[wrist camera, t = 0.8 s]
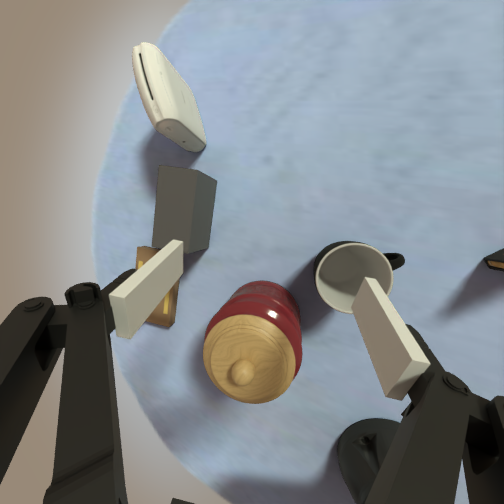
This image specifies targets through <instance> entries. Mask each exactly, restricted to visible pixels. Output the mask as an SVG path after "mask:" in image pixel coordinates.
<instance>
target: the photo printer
mask: <svg viewBox="0 0 504 504" xmlns="http://www.w3.org/2000/svg"><path fill="white" fill-rule="evenodd" d="M132 63H133V70H134V75H135V80H136V83H137V88H138V90H139V94H140V97H141V100H142V103H143V105H144V108H145V110H146V113H147V115H148V117H149V119H150V121H151V123H152V125H153V126H154V128H155V129H156V130H157V131H158V132H160V133H161V134H163V135H164V136H166V137H167V138H169V139H170V140H172V141H173V142H175V143H176V144H178V145H179V146H181V147H182V148H184V149H185V150H187V151H192V152H199V151H201V150H202V149H203V148H204V147H205V145H206V136H205V132H204V128H203V124H202V121H201V117H200V114H199V110H198V107H197V104H196V101H195V98H194V95H193V93H192V91H191V89H190V88H189V86H188V85H187V84H186V82H185V81H184V80H183V79H182V77H181V76H180V75H179V73H178V72H177V71H176V70H175V68H174V67H173V66H172V65H171V63H170V62H169V61H168V59H167V58H166V57H165V56H164V54H163V53H162V52H161V51H160V49H159V48H158V47H156V46H155V45H153V44H150V43H145V42H144V43H143V42H142V43H141V44H140V45H138V46H135V47H134V48H133V52H132Z"/></svg>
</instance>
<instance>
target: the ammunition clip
mask: <svg viewBox="0 0 504 504" xmlns="http://www.w3.org/2000/svg"><path fill="white" fill-rule="evenodd" d="M484 260H485V262H486V263H487V265H488V267H489V268H490V269H495V270H500V271H504V248H503V249H501V250H499V251H497V252H495V253H493V254H491V255H488V256H486V257H484Z"/></svg>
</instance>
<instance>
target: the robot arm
mask: <svg viewBox="0 0 504 504" xmlns="http://www.w3.org/2000/svg"><path fill="white" fill-rule="evenodd" d="M182 274H183V241H179V240H172V241H171V242H170V243H168V244H167V245H166V246H165V247H164V248H163V249H161V250H160V251H159V252H158V253H157V254H156V255H154V256H153V257H152V258H151V259H150V260H149V261H147V262H146V263H145V264H144V265H143V266H142V267H140V268H139V269H138V270H137V269H130V270H128V271H126V272H124V273H122V274H121V275H120V276H119V277H118V278H116V279H115V280H114V281H113V282H111V283H110V284H109V285H107V286H106V287H105V288H104V289H102V290H100V287H99V285H98V284H96V283H91V282H87V283H80V284H76V285H74V286H72V287H70V288H69V289H68V290H67V291H66V292H65V297H66V301H67V304H68V305H54V304H53V301H52V300H51V298H48V297H36V298H32V299H28V300H25V301H24V302H22V303H20V304H18V305H17V306H16V307H15V308H14V309H13V310H12V311H11V313H10V314H9V315H8V316H7V318H6V319H5V320H4V322H3V323H2V324H1V325H0V484H1V482H2V480H3V477H4V475H5V473H6V471H7V469H8V467H9V465H10V462H11V460H12V458H13V456H14V454H15V451H16V449H17V447H18V445H19V443H20V441H21V438H22V436H23V434H24V432H25V430H26V428H27V425H28V423H29V421H30V419H31V416H32V415H33V412H34V410H35V408H36V406H37V404H38V402H39V399H40V397H41V395H42V393H43V390H44V388H45V386H46V384H47V382H48V379H49V377H50V375H51V373H52V371H53V369H54V367H55V364H56V362H57V360H58V358H59V356H60V354H61V351H62V349H63V348H65V353H64V364H63V374H62V385H61V395H60V396H61V397H60V406H59V416H58V427H57V438H56V448H55V460H54V469H53V478H52V482H51V485H50V486H49V488H48V489H47V490H46V493H45V496H44V499H43V504H128V501H127V494H126V487H125V479H124V468H123V458H122V449H121V439H120V428H119V418H118V408H117V398H116V388H115V378H114V368H113V358H112V348H111V338H110V333H111V332H112V331H113V330H114V329H115V330H116V335H117V336H118V337H122V338H127V339H131V338H132V337H133V336H134V334H135V333H136V332H137V331H138V329H139V328H140V327H141V326H142V324H143V323H144V322H145V321H146V319H147V318H148V317H149V315H150V314H151V313H152V312H153V310H154V309H155V308H156V307H157V305H158V304H159V303H160V302H161V300H162V299H163V298H164V296H165V295H166V294H167V293H168V291H169V290H170V289H171V288H172V286H173V285H174V284H175V283H176V281H177V280H178V279H179V277H180V276H181V275H182ZM351 309H352V311H353V314H354V316H355V319H356V321H357V324H358V327H359V329H360V332H361V334H362V337H363V340H364V342H365V345H366V347H367V350H368V353H369V355H370V358H371V360H372V363H373V365H374V368H375V371H376V373H377V376H378V378H379V381H380V384H381V386H382V389H383V391H384V394H385V397H388V398H392V399H397V400H401V401H402V400H403V398H404V397H405V396H406V395H407V393H408V395H409V397H410V399H411V401H412V402H411V403H410V404H409V405H408V407H407V408H406V409H405V410H404V411H403V413H402V414H401V415H402V416H403V418H402V421H401V423H399V422H396V421H392V420H388V419H378V418H376V419H367V420H363V421H360V422H357V423H355V424H353V425H352V426H350V427H349V428H348V429H347V430H346V431H345V432H344V433H343V435H342V436H341V438H340V440H339V443H338V449H337V453H338V460H339V465H340V470H341V473H342V476H343V478H344V481H345V483H346V484H347V486H348V489H349V491H350V493H351V495H352V497H353V499H354V501H355V503H356V504H454V502H455V496H456V490H457V484H458V478H459V472H460V467H461V461H462V460H463V467H464V473H465V479H466V485H467V492H468V498H469V504H504V396H496V397H494V398H493V399H492V400H491V401H489V400H487V399H485V398H482V397H480V396H478V395H476V394H474V393H472V392H471V391H470V389H469V388H468V386H467V385H466V384H465V383H464V382H463V381H462V380H460V379H459V378H458V377H456V376H455V375H453V374H451V373H449V372H446V371H445V370H444V369H443V367H442V366H441V364H440V363H439V361H438V360H437V358H436V357H435V356H434V354H433V353H432V351H431V350H430V349H429V347H428V345H427V344H426V342H424V340H423V338H422V337H421V335H420V334H419V332H417V331H416V330H415V329H414V328H413V327H412V326H411V325H407V324H405V323H404V322H403V320H402V319H401V317H400V316H399V314H398V313H397V311H396V309H395V308H394V306H393V305H392V303H391V302H390V300H389V299H388V297H387V295H386V294H385V292H384V291H383V289H382V288H381V286H380V285H379V283H378V282H377V280H376V279H373V278H368V277H364V280H363V282H362V284H361V286H360V288H359V291H358V293H357V295H356V297H355V299H354V302H353V304H352V306H351ZM171 504H194V503H190V502H186V501H183V500H179V499H175V498H173V499H172V502H171Z"/></svg>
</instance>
